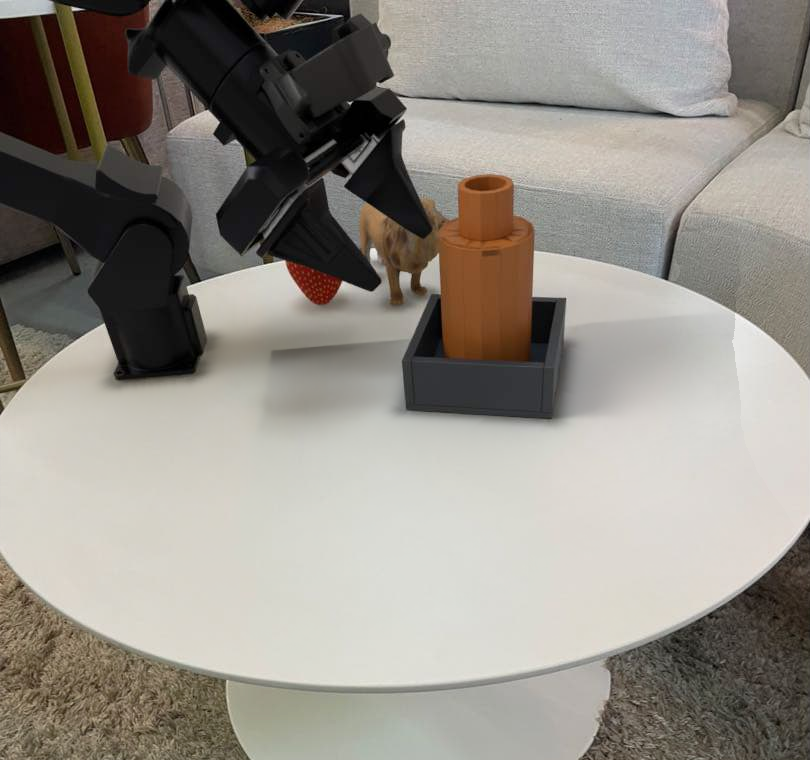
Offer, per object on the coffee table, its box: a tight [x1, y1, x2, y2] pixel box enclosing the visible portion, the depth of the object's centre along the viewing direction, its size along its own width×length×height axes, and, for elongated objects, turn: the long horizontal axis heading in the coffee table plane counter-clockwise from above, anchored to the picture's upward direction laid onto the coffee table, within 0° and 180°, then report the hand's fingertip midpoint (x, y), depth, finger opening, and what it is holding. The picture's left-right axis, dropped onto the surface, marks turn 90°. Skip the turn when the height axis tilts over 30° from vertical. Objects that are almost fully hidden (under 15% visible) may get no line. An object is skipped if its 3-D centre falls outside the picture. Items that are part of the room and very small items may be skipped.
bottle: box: [438, 173, 536, 362], centre depth 56 cm, size 6×6×14 cm
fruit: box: [284, 219, 343, 306], centre depth 69 cm, size 5×5×8 cm
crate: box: [401, 293, 567, 420], centre depth 59 cm, size 10×10×4 cm
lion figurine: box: [358, 197, 451, 307], centre depth 71 cm, size 15×5×9 cm, turn 33°
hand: (404, 259), depth 57 cm, fingers open, 9 cm apart
